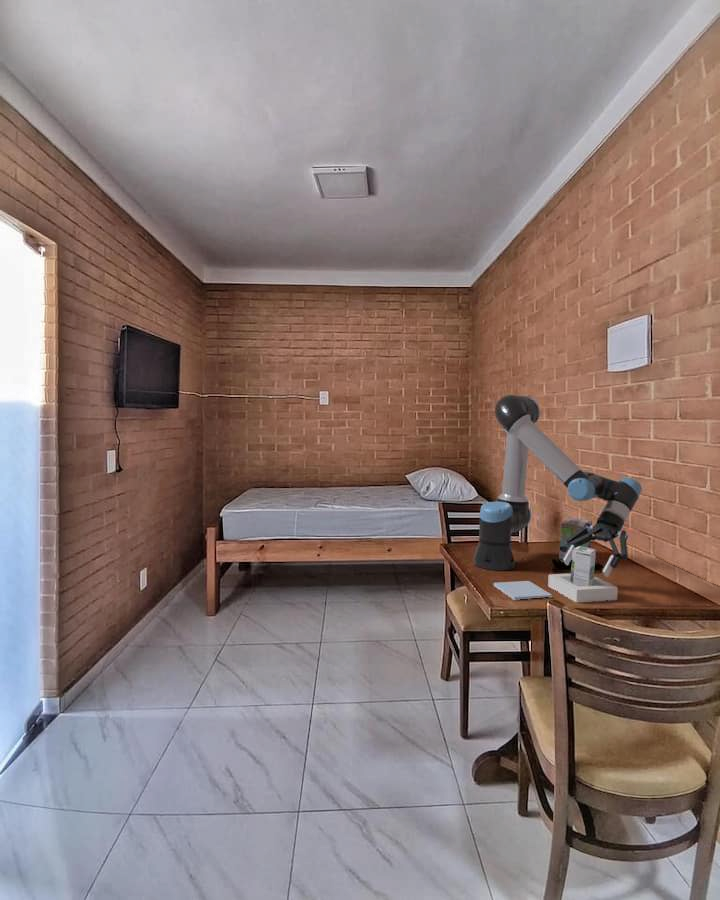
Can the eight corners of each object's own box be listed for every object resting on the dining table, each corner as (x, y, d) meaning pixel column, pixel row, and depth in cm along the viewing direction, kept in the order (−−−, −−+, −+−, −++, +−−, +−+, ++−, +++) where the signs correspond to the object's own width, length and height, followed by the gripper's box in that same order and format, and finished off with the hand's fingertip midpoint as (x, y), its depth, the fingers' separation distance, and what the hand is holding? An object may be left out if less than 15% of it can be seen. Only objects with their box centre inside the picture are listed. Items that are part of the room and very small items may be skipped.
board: (493, 585, 161) (493, 582, 161) (528, 583, 164) (528, 580, 164) (514, 600, 149) (514, 597, 149) (551, 597, 152) (551, 594, 151)
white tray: (548, 586, 162) (548, 574, 162) (585, 584, 165) (586, 572, 165) (576, 602, 148) (577, 589, 148) (617, 599, 151) (617, 587, 151)
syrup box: (574, 588, 161) (576, 545, 160) (593, 592, 157) (596, 548, 156) (569, 592, 156) (571, 548, 155) (588, 597, 153) (591, 552, 152)
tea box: (585, 563, 189) (587, 526, 188) (558, 559, 195) (560, 522, 193) (590, 555, 202) (592, 520, 201) (564, 550, 207) (566, 516, 206)
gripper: (655, 532, 154) (627, 586, 147) (582, 517, 175) (554, 564, 167) (648, 517, 151) (619, 572, 143) (574, 504, 171) (546, 551, 164)
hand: (584, 568), depth 155 cm, fingers open, 13 cm apart
